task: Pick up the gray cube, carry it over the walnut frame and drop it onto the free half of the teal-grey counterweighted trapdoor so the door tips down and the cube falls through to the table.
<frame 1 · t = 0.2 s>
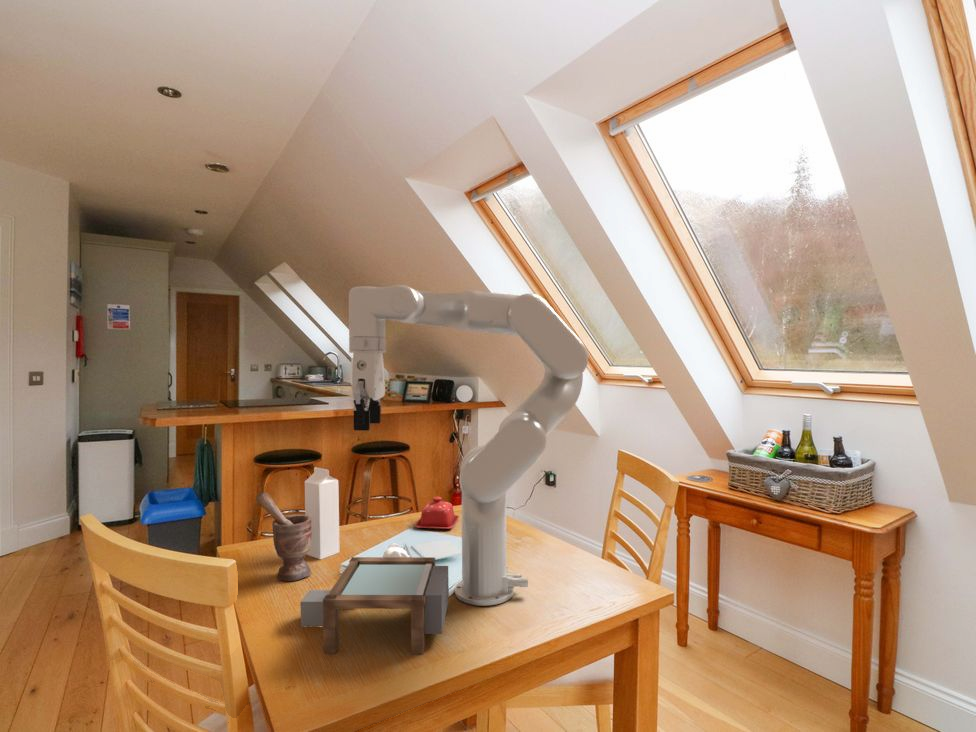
hand: (367, 426, 118), 36 cm above the table, tool pointing down, fingers open, 9 cm apart
gray cube: (318, 620, 108), on the table
butter dish: (437, 525, 164), on the table
elephant figurine: (396, 572, 131), on the table
trapdoor: (398, 597, 105), point 6 cm above the table, hinge at 0.0°
milk: (322, 554, 142), on the table
frame: (387, 625, 106), on the table
mortar and pestle: (286, 577, 128), on the table
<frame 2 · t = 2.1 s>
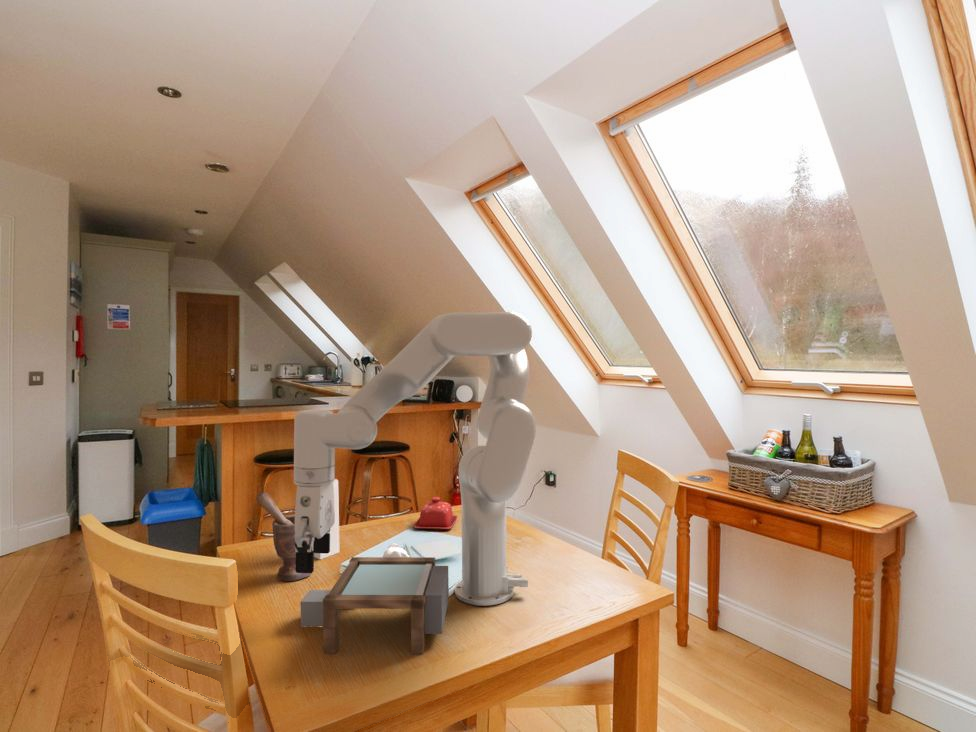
hand: (313, 562, 107), 12 cm above the table, tool pointing down, fingers open, 9 cm apart
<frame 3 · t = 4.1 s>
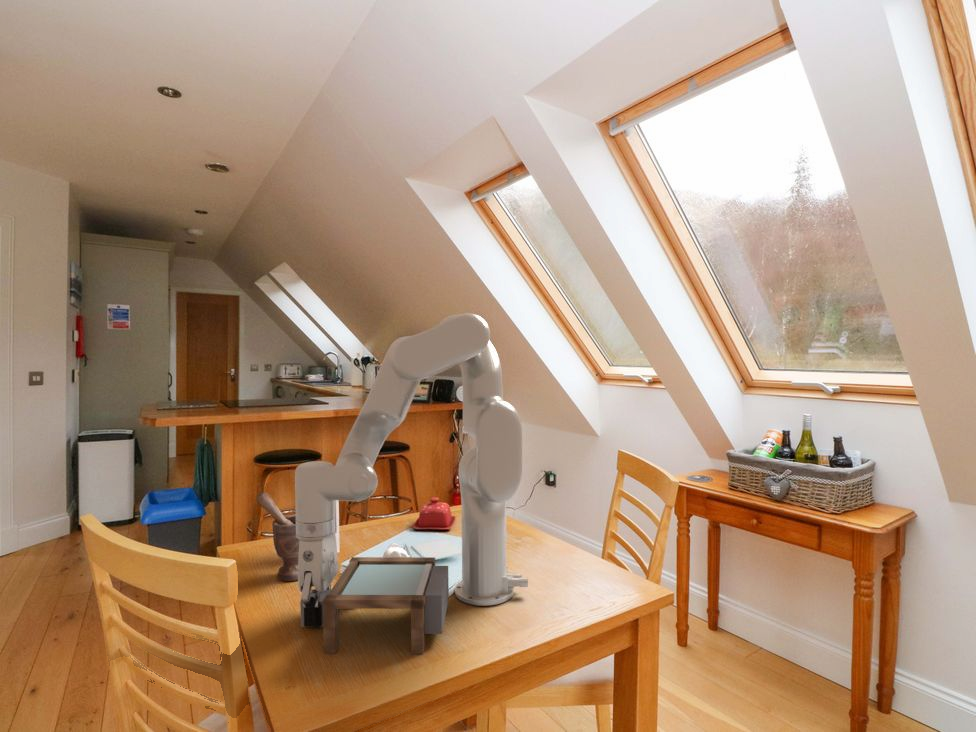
hand: (318, 617, 108), 0 cm above the table, tool pointing down, fingers closed on gray cube, 5 cm apart
gray cube: (318, 620, 108), on the table, touching gripper
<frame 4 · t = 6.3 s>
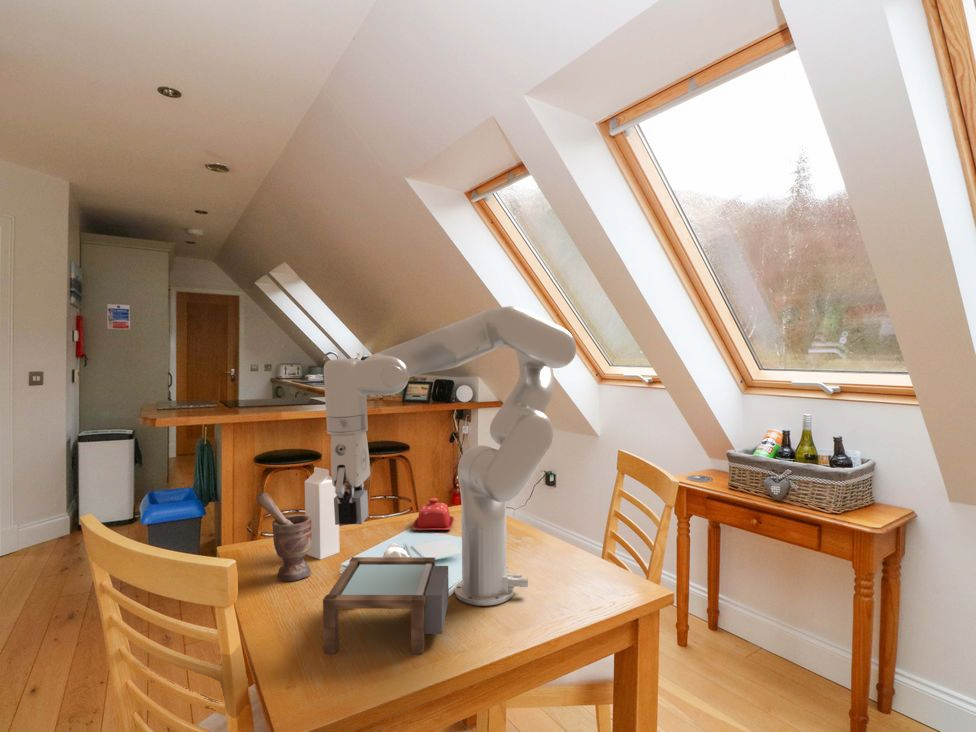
hand: (352, 517, 106), 21 cm above the table, tool pointing down, fingers closed on gray cube, 5 cm apart
gray cube: (352, 519, 106), point 20 cm above the table, touching gripper
when the fingers open (12 cm above the table, at t = 8.4 s): gray cube drops 9 cm and tips over, point 2 cm above the table.
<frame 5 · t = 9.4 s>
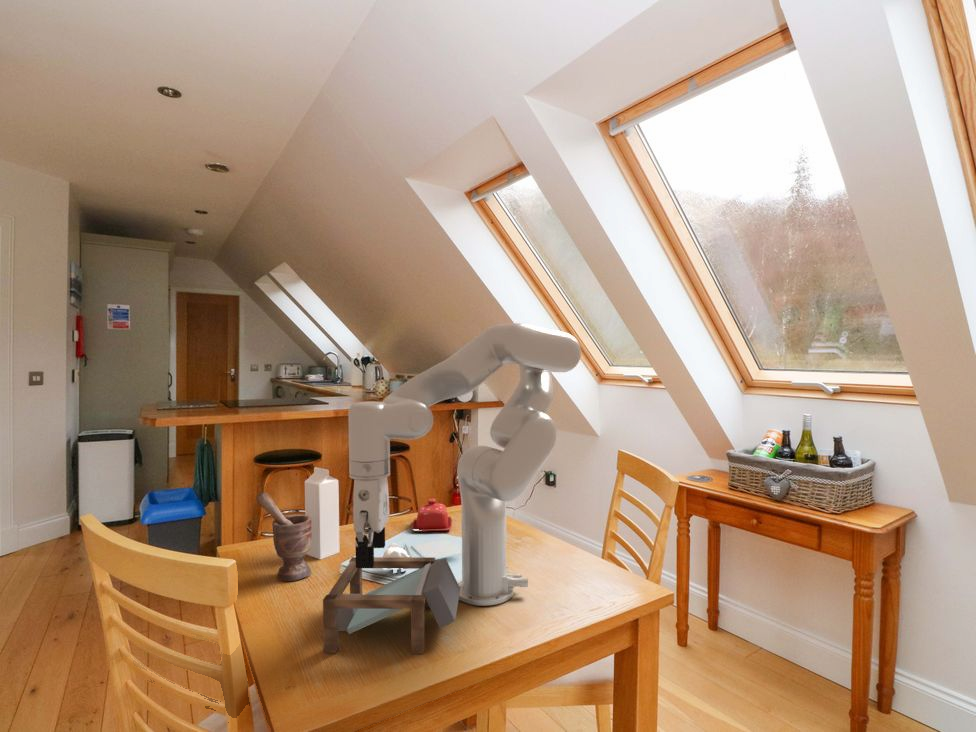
hand: (371, 557, 105), 13 cm above the table, tool pointing down, fingers open, 9 cm apart
gray cube: (357, 612, 106), point 2 cm above the table, tilted 90°
trapdoor: (407, 606, 105), point 4 cm above the table, hinge at -24.9°
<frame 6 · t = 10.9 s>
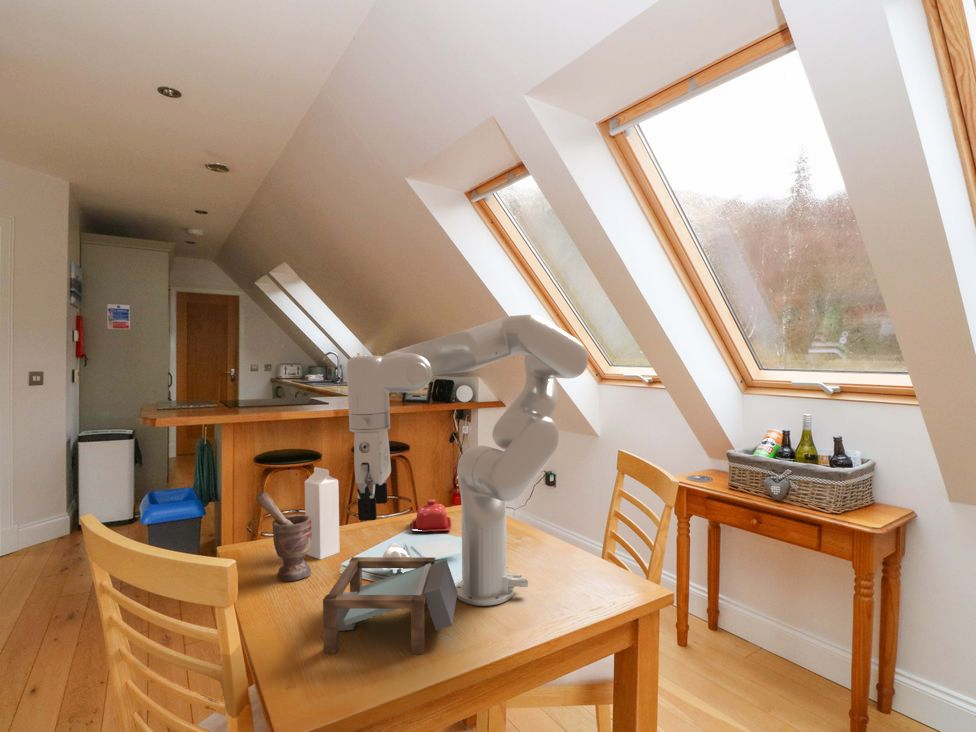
hand: (373, 511, 105), 22 cm above the table, tool pointing down, fingers open, 9 cm apart
gray cube: (355, 610, 106), point 3 cm above the table, tilted 94°, touching trapdoor
trapdoor: (404, 604, 105), point 4 cm above the table, hinge at -18.0°, touching gray cube
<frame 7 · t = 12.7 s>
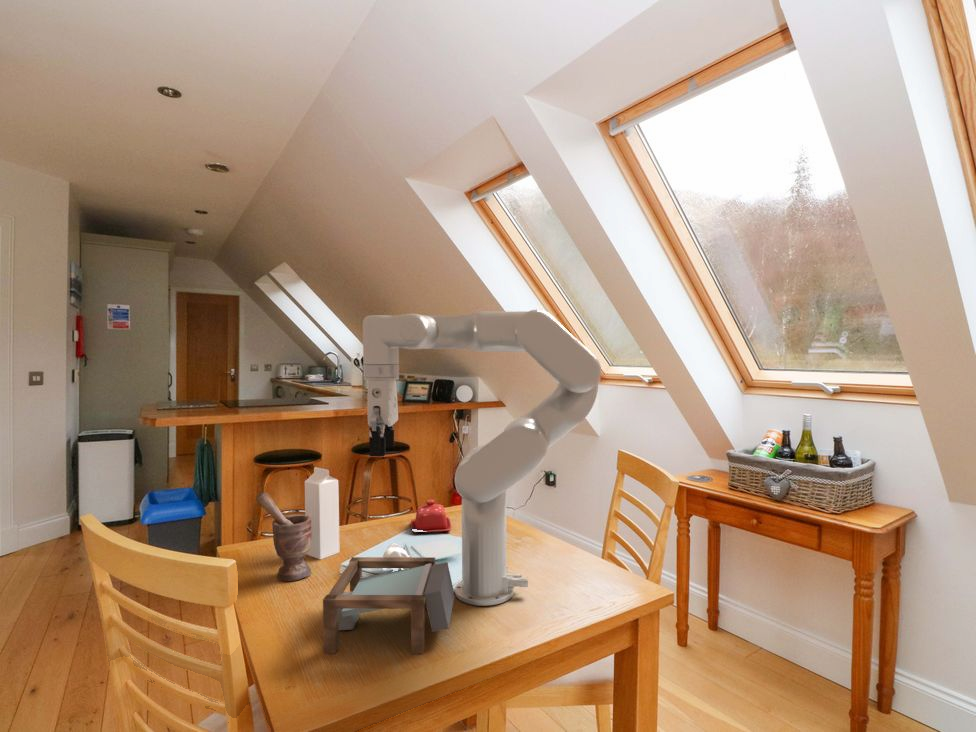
hand: (382, 451, 120), 30 cm above the table, tool pointing down, fingers open, 9 cm apart
trapdoor: (401, 602, 105), point 5 cm above the table, hinge at -11.4°, touching gray cube
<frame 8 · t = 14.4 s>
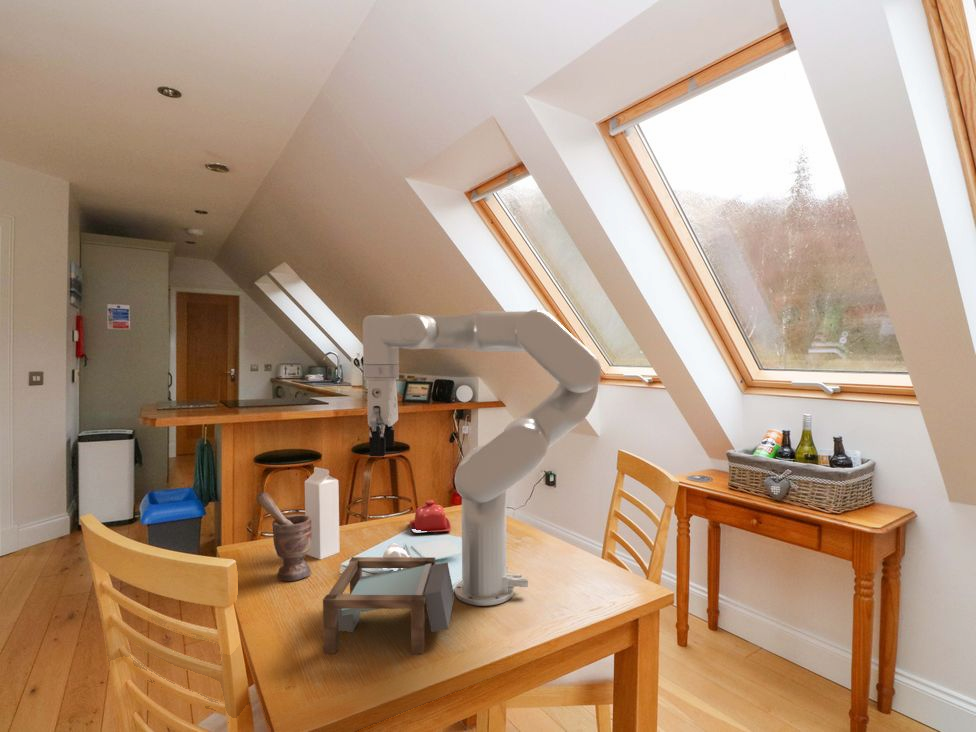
hand: (382, 451, 120), 30 cm above the table, tool pointing down, fingers open, 9 cm apart
gray cube: (356, 612, 106), point 2 cm above the table, tilted 90°
trapdoor: (401, 601, 105), point 5 cm above the table, hinge at -10.6°
at the end: gray cube point 2.4 cm above the table; gray cube inside the target area (3.6 cm from its centre), point 2.4 cm above the table; the gripper is holding nothing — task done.
